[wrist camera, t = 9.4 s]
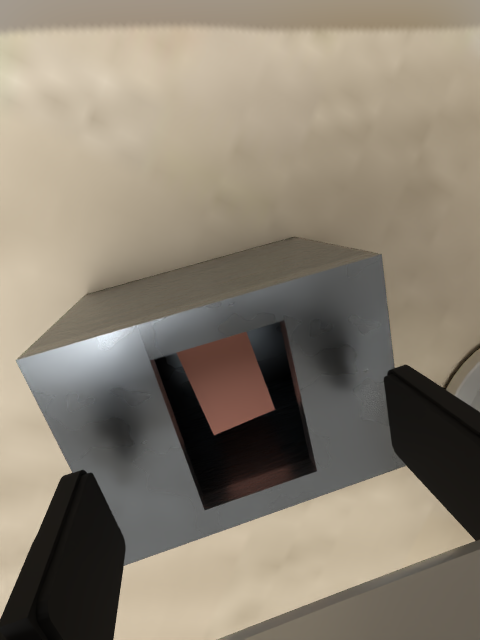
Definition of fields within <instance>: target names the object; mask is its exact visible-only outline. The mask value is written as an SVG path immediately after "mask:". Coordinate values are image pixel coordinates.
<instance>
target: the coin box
mask: <svg viewBox="0 0 480 640" xmlns="http://www.w3.org/2000/svg"><path fill="white" fill-rule="evenodd" d="M243 332H247V335H248V338H249V340H250V343H251V346H252V348H253V351H254V354H255V357H256V359H257V362H258V365H259V367H260V370H261V373H262V375H263V378H264V381H265V383H266V386H267V389H268V392H269V394H270V397H271V400H272V402H273V405H274V408H275V410H273V411H271V412H268V413H266V414H264V415H261V416H259V417H256V418H254V419H252V420H249V421H247V422H244V423H242V424H240V425H237V426H235V427H233V428H230V429H228V430H225V431H223V432H221V433H218V434H216V435H214V434H213V432H212V430H211V427H210V425H209V423H208V421H207V419H206V417H205V414H204V412H203V410H202V408H201V406H200V403H199V401H198V399H197V397H196V395H195V392H194V390H193V388H192V386H191V384H190V381H189V379H188V377H187V375H186V373H185V371H184V368H183V366H182V364H181V362H180V360H179V357H178V355H177V352H180V351H183V350H187V349H190V348H193V347H197V346H200V345H203V344H207V343H210V342H213V341H217V340H220V339H223V338H227V337H230V336H233V335H237V334H240V333H243ZM16 362H17V364H18V366H19V368H20V370H21V372H22V374H23V376H24V378H25V380H26V382H27V384H28V386H29V388H30V390H31V392H32V394H33V395H34V397H35V399H36V401H37V403H38V405H39V407H40V409H41V411H42V413H43V415H44V417H45V419H46V421H47V423H48V425H49V427H50V429H51V431H52V433H53V435H54V437H55V439H56V441H57V443H58V445H59V447H60V449H61V451H62V453H63V455H64V457H65V459H66V461H67V463H68V465H69V467H70V469H71V471H72V473H74V472H77V471H80V470H85V471H86V472H87V473H93V475H94V476H95V479H96V481H97V483H98V485H99V487H100V489H101V491H102V493H103V495H104V497H105V499H106V501H107V503H108V505H109V508H110V510H111V512H112V514H113V516H114V518H115V520H116V522H117V524H118V526H119V528H120V530H121V532H122V535H123V537H124V540H125V545H126V551H125V559H124V566H125V565H127V564H130V563H133V562H136V561H139V560H141V559H144V558H147V557H150V556H153V555H156V554H158V553H161V552H164V551H167V550H170V549H172V548H175V547H178V546H181V545H184V544H187V543H189V542H192V541H195V540H198V539H201V538H204V537H206V536H209V535H212V534H215V533H218V532H220V531H223V530H226V529H229V528H232V527H235V526H237V525H240V524H243V523H246V522H249V521H251V520H254V519H257V518H260V517H263V516H266V515H268V514H271V513H274V512H277V511H280V510H282V509H285V508H288V507H291V506H294V505H297V504H299V503H302V502H305V501H308V500H311V499H313V498H316V497H319V496H322V495H325V494H328V493H330V492H333V491H336V490H339V489H342V488H344V487H347V486H350V485H353V484H356V483H359V482H361V481H364V480H367V479H370V478H373V477H375V476H378V475H381V474H384V473H387V472H390V471H392V470H395V469H398V468H401V467H404V466H406V465H405V463H404V462H403V461H402V460H401V459H400V458H399V457H398V456H397V455H396V453H395V451H394V449H393V447H392V442H391V435H390V427H389V419H388V411H387V403H386V395H385V387H384V377H385V376H387V373H388V371H389V370H391V369H394V359H393V350H392V341H391V333H390V324H389V315H388V306H387V297H386V288H385V279H384V271H383V262H382V254H378V253H373V252H368V251H363V250H358V249H353V248H348V247H343V246H338V245H333V244H328V243H323V242H318V241H313V240H308V239H303V238H298V237H292V238H288V239H285V240H281V241H277V242H274V243H270V244H267V245H263V246H259V247H256V248H252V249H249V250H245V251H241V252H238V253H234V254H231V255H227V256H223V257H220V258H216V259H213V260H209V261H205V262H202V263H198V264H195V265H191V266H187V267H184V268H180V269H177V270H173V271H169V272H166V273H162V274H159V275H155V276H151V277H148V278H144V279H141V280H137V281H133V282H130V283H126V284H123V285H119V286H115V287H112V288H108V289H105V290H101V291H97V292H94V293H90V294H87V295H85V296H84V297H83V298H82V299H80V300H79V301H78V302H77V303H76V304H75V305H74V306H73V307H72V308H71V309H70V310H69V311H68V312H67V313H66V314H65V315H63V316H62V317H61V318H60V319H59V320H58V321H57V322H56V323H55V324H54V325H53V326H52V327H51V328H50V329H49V330H47V331H46V332H45V333H44V334H43V335H42V336H41V337H40V338H39V339H38V340H37V341H36V342H35V343H34V344H33V345H32V346H30V347H29V348H28V349H27V350H26V351H25V352H24V353H23V354H22V355H21V356H20V357H19V358H18V359H17V360H16Z"/></svg>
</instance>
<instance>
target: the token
mask: <svg viewBox="0 0 480 640" xmlns="http://www.w3.org/2000/svg"><path fill="white" fill-rule="evenodd" d="M177 355H178V357H179V360H180V362H181V364H182V366H183V368H184V371H185V373H186V375H187V377H188V379H189V381H190V384H191V386H192V388H193V390H194V392H195V395H196V397H197V399H198V401H199V403H200V406H201V408H202V410H203V412H204V414H205V417H206V419H207V421H208V423H209V425H210V427H211V430H212V432H213V434H214V435H216V434H218V433H221V432H223V431H225V430H228V429H230V428H233V427H235V426H237V425H240V424H242V423H244V422H247V421H249V420H252V419H254V418H256V417H259V416H261V415H264V414H266V413H268V412H271V411H273V410H275V408H274V405H273V402H272V400H271V397H270V394H269V392H268V389H267V386H266V383H265V381H264V378H263V375H262V373H261V370H260V367H259V365H258V362H257V359H256V357H255V354H254V351H253V348H252V346H251V343H250V340H249V338H248V335H247V332H243V333H240V334H237V335H233V336H230V337H227V338H223V339H220V340H217V341H213V342H210V343H207V344H203V345H200V346H197V347H193V348H190V349H187V350H183V351H180V352H177Z"/></svg>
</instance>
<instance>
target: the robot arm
mask: <svg viewBox="0 0 480 640" xmlns="http://www.w3.org/2000/svg"><path fill="white" fill-rule="evenodd" d="M384 387H385V395H386V403H387V411H388V419H389V427H390V435H391V442H392V447H393V449H394V451H395V453H396V455H397V456H398V457H399V458H400V459H401V460H402V461H403V462H404V463H405V465H406V466H407V467H408V468H409V469H410V470H411V471H412V472H413V473H414V474H415V475H416V476H417V478H418V479H419V480H420V481H421V482H422V483H423V484H424V485H425V486H426V487H427V488H428V489H429V490H430V492H431V493H432V494H433V495H434V496H435V497H436V498H437V499H438V500H439V501H440V502H441V503H442V505H443V506H444V507H445V508H446V509H447V510H448V511H449V512H450V513H451V514H452V515H453V516H454V518H455V519H456V520H457V521H458V522H459V523H460V524H461V525H462V526H463V527H464V528H465V529H466V531H467V532H468V533H469V534H470V535H471V536H472V537H473V538H474V539H475V540H476V541H475V542H472V543H469V544H466V545H464V546H461V547H458V548H455V549H453V550H450V551H447V552H445V553H442V554H439V555H437V556H434V557H431V558H429V559H426V560H423V561H421V562H418V563H415V564H413V565H410V566H408V567H405V568H402V569H400V570H397V571H394V572H392V573H389V574H386V575H384V576H381V577H378V578H376V579H373V580H370V581H368V582H365V583H363V584H360V585H357V586H355V587H352V588H349V589H347V590H344V591H342V592H339V593H336V594H334V595H331V596H329V597H326V598H323V599H321V600H318V601H316V602H313V603H310V604H308V605H305V606H303V607H300V608H297V609H295V610H292V611H290V612H287V613H284V614H282V615H279V616H277V617H274V618H271V619H269V620H266V621H264V622H261V623H259V624H256V625H253V626H251V627H248V628H246V629H243V630H241V631H238V632H235V633H233V634H230V635H228V636H225V637H223V638H220V639H218V640H480V349H478V350H477V351H475V352H474V353H473V354H472V355H471V356H470V357H469V358H468V359H467V360H466V361H465V362H464V363H463V365H462V366H461V367H460V368H459V370H458V371H457V372H456V374H455V375H454V376H453V378H452V380H451V381H450V383H449V385H448V387H447V389H446V390H445V389H444V388H442V387H441V386H439V385H438V384H436V383H434V382H433V381H431V380H430V379H428V378H427V377H425V376H424V375H422V374H421V373H419V372H418V371H416V370H414V369H413V368H411V367H410V366H408V365H403V366H400V367H397V368H394V369H391V370H389V371H388V373H387V376H385V377H384ZM125 551H126V545H125V540H124V537H123V535H122V532H121V530H120V528H119V526H118V524H117V522H116V520H115V518H114V516H113V514H112V512H111V510H110V508H109V505H108V503H107V501H106V499H105V497H104V495H103V493H102V491H101V489H100V487H99V485H98V483H97V481H96V479H95V476H94V475H93V473H87V472H86V471H85V470H80V471H77V472H74V473H71V474H68V475H65V476H63V477H62V478H61V479H60V482H59V484H58V486H57V489H56V491H55V494H54V496H53V498H52V501H51V503H50V505H49V508H48V510H47V513H46V515H45V517H44V520H43V522H42V524H41V527H40V529H39V532H38V534H37V536H36V538H35V540H34V542H33V544H32V546H31V548H30V551H29V553H28V555H27V558H26V560H25V562H24V565H23V567H22V569H21V572H20V574H19V577H18V579H17V581H16V584H15V586H14V588H13V591H12V593H11V595H10V598H9V600H8V602H7V605H6V607H5V610H4V612H3V614H2V617H1V619H0V640H113V638H114V631H115V623H116V616H117V609H118V602H119V595H120V588H121V580H122V573H123V566H124V559H125Z"/></svg>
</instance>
